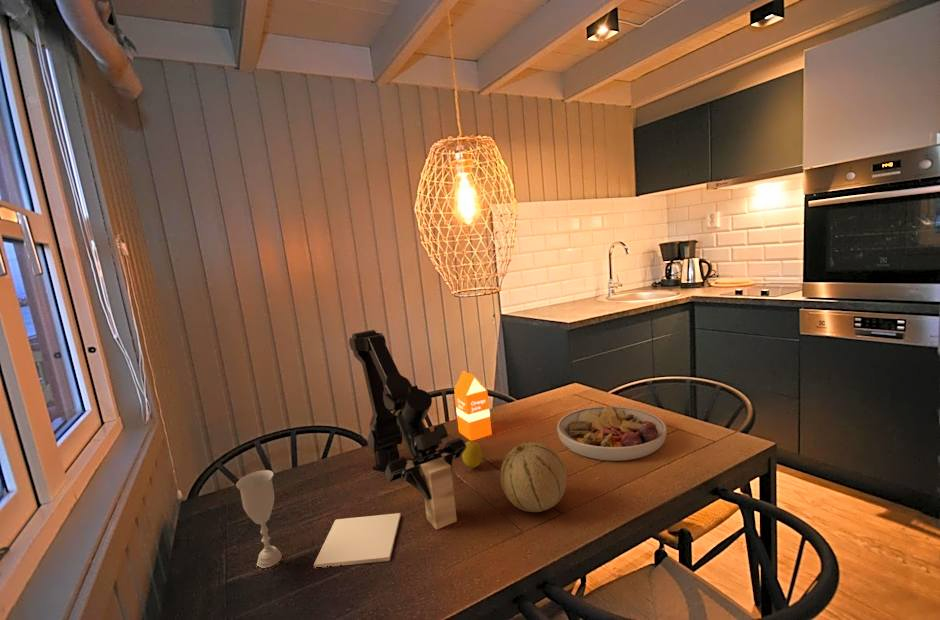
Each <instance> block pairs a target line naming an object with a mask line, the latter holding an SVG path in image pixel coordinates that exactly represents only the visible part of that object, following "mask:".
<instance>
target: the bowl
mask: <svg viewBox="0 0 940 620" xmlns="http://www.w3.org/2000/svg"><path fill="white" fill-rule="evenodd" d="M556 430H557V435H558V438H559V440H560V441H561V442H562V444H563V445H564V446H565V447H567V448H568V449H569V450H571V451H572V452H574V453H575V454H578V455H580V456H583V457H586V458H590V459H593V460H600V461H610V462H611V461H613V462H614V461H615V462H616V461H618V462H619V461H629V460H631V461H632V460H636V459H637V460H638V459H639V458H644V457H646V456H649V455H650V454H653V453H655V452H656V451H657V450H658V449H660V448H661V446H662V445H664V443H665V440H666V437H667V426H666V423H665V422H664V421H663V420H662V419H661V418H660V417H658V416H657V415H655V414H653V413H650V412H648V411H644V410H641V409H638V408H632V407H625V406H612V405H611V406H593V407H586V408H581V409H578V410H575V411H571V412H569V413H568V414H566V415H564V416H562V417H561V418H560V419H559V421H558V422H557V425H556Z"/></svg>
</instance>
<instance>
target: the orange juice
mask: <svg viewBox="0 0 940 620" xmlns="http://www.w3.org/2000/svg"><path fill="white" fill-rule="evenodd" d="M453 391H454V399H455V400H454V401H455V408H456V409H455V410H456V418H457V419H456V420H457V426H458V433H459V434H461V435H462V436H463V437H465V438H466V439H468V441H470V440H472V441H476V440H478V439H481V438H485V437H487V436H491V435H493V434H492V433H493V432H492V425H491V411H490V404H489V395H488V394H489V393H488V389H486V388H485V386H484V385H483V384H482V383H481V382H480V381H479V380H478V379H477V377H476V376H475V375H474V374H471V373H469V372H467V371H464V370H463V371H462V372H461V374H460V377H459V379H458V381H457V382H456V385H455V387H454V389H453Z"/></svg>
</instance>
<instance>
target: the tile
mask: <svg viewBox="0 0 940 620" xmlns="http://www.w3.org/2000/svg"><path fill="white" fill-rule="evenodd" d="M400 520H401V512H398V513H397V512H395V513H389V514H388V513H386V514H379V515H369V516H367V515H366V516H358V517H347V518H338V519H334V522H333V524H332V526H331V528H330V530H329V532H328V534H327V536H326V538H325V540H324V543H323V545H322V546H321V548H320V551H319V553H318V555H317V557H316V559H315V561H314V564H313V568H314V569H317V568H316V567H322V568H330V567H329V566H332V567H341V566H340V565H342V566H350V565H352V566H353V565H360V564H371V563H381V562H390V561H391V558H392V553H393V549H394V545H395V540H396V536H397V534H398V529H399V524H400ZM327 566H328V567H327Z"/></svg>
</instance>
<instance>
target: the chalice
mask: <svg viewBox="0 0 940 620" xmlns="http://www.w3.org/2000/svg"><path fill="white" fill-rule="evenodd" d="M273 476H274V471H272V470H269V469H263V470H262V469H261V470H257V471H252V472H251V473H249V474H246V475H244V476H242V477H240V479H238V481H237V482H236V483H235V484H236V485H235V486H236V488H237V489H238V490H239V492H240V498H241V503H242V508H243V510H244V512H245V514H247V516H248V517H249V518H250V519H251V520H252V521H253V522H254V523H255V524H256V525H260V534H261V535H262V538H261V543H263V545H264V547H263V549H262V550H261V551H260V552H259V554H258V558H257V562H256V565H257V566H259V567H261V568H266V567H270V566H272V565H274V564H276V563H277V562H278V561H280V559H281V557H282V555H283V554H282V553H281V552H280V550H278V548H277V547H276V546H274V545H270V539H271V536H269V535H268V534H269V533H268V531H269V528H268V527H267V525H266V523H267V522H268V521H269V520H270V518H271V515H272V511H273V508H274V503H275V497H276V496H275V491H274V485H273V478H274V477H273ZM281 554H282V555H281ZM257 566H256V567H257Z"/></svg>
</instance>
